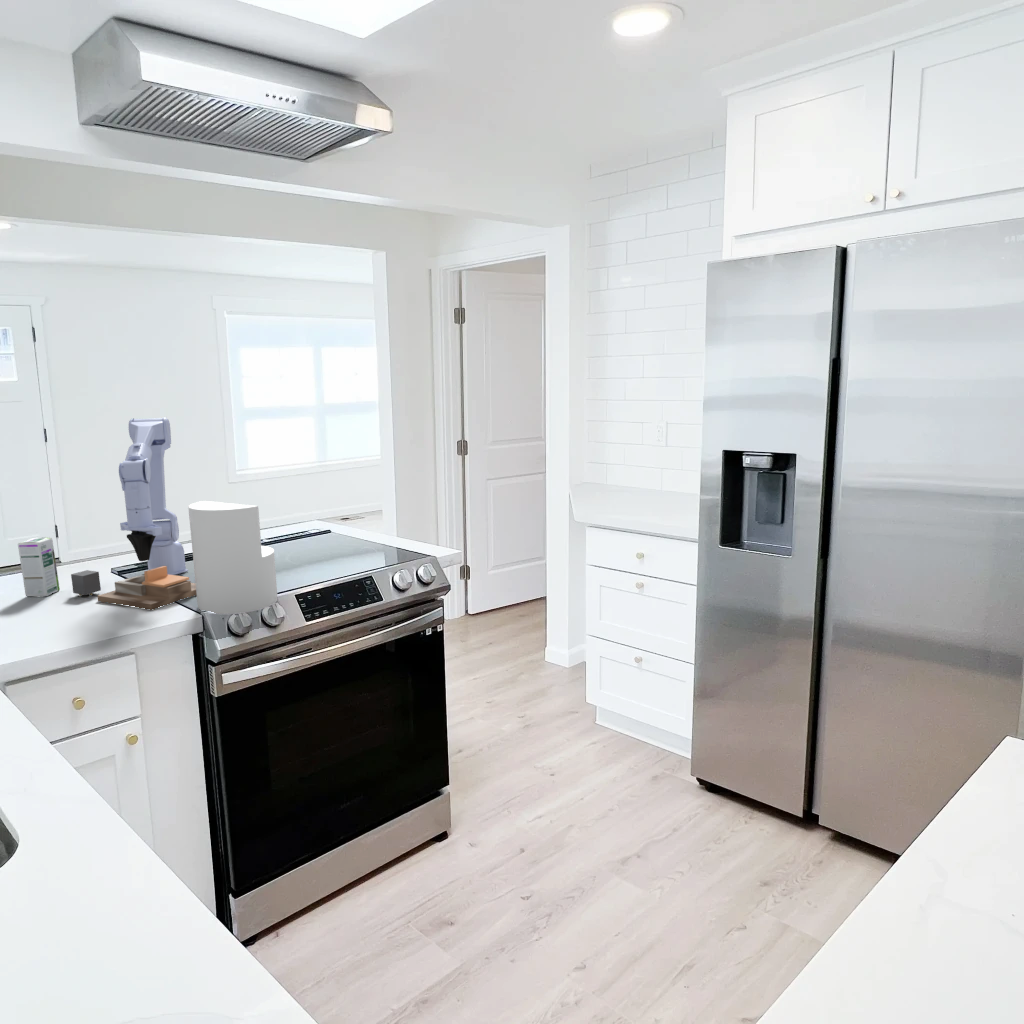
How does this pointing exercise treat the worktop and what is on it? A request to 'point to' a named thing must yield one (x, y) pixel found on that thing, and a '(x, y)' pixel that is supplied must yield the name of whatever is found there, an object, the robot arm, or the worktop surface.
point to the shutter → (161, 577)
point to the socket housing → (147, 593)
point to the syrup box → (38, 566)
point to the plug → (85, 582)
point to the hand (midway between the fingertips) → (144, 560)
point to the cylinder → (231, 558)
